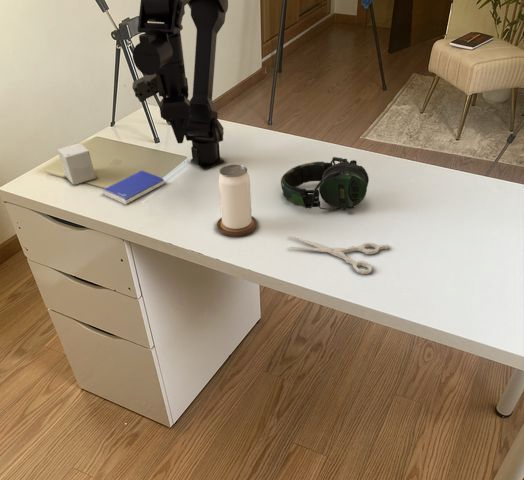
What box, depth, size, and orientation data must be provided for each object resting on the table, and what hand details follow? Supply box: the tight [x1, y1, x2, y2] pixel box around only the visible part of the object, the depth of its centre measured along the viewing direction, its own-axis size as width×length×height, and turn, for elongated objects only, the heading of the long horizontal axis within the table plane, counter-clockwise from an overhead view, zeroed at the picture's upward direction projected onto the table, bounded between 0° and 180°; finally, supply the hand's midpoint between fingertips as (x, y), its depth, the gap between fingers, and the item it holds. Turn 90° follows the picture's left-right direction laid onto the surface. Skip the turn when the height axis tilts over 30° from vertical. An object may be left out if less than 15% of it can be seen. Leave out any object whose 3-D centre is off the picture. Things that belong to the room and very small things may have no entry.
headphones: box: [280, 156, 370, 211], centre depth 121 cm, size 13×13×20 cm
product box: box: [57, 142, 97, 186], centre depth 133 cm, size 6×6×7 cm
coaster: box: [216, 215, 258, 238], centre depth 117 cm, size 9×9×1 cm
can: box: [218, 163, 252, 229], centre depth 112 cm, size 6×6×12 cm
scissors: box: [291, 236, 390, 275], centre depth 108 cm, size 11×1×20 cm
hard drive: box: [102, 170, 165, 205], centre depth 130 cm, size 2×8×12 cm
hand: (179, 134), depth 121 cm, fingers open, 9 cm apart
